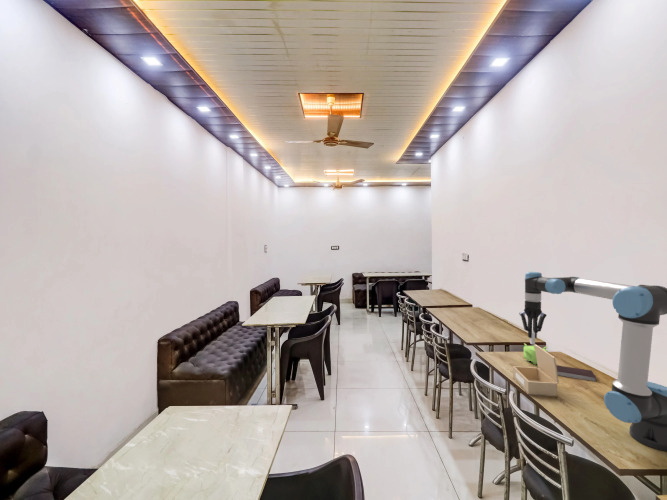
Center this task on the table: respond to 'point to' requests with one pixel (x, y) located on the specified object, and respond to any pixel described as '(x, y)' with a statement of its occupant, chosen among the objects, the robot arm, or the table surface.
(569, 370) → the book
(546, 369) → the lid
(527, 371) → the open box
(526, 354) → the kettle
